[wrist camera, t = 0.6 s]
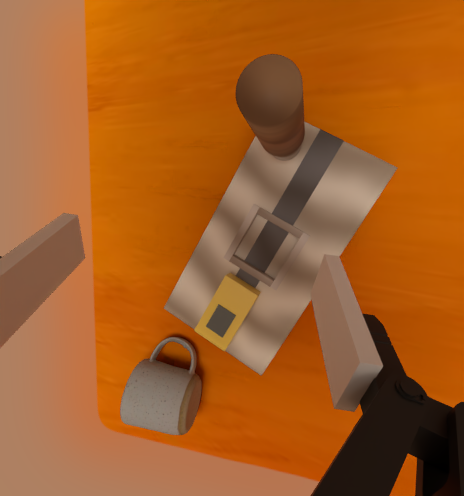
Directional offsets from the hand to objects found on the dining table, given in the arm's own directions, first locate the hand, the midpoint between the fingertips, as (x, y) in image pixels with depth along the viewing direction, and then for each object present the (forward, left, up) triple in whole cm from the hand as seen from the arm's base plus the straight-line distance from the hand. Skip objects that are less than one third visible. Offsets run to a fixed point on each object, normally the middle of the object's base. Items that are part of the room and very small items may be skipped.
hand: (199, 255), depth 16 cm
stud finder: (+9, +1, -19) cm, 22 cm away
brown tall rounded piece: (-11, -3, -19) cm, 22 cm away
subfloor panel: (0, +1, -21) cm, 21 cm away
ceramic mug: (+22, -1, -21) cm, 31 cm away
